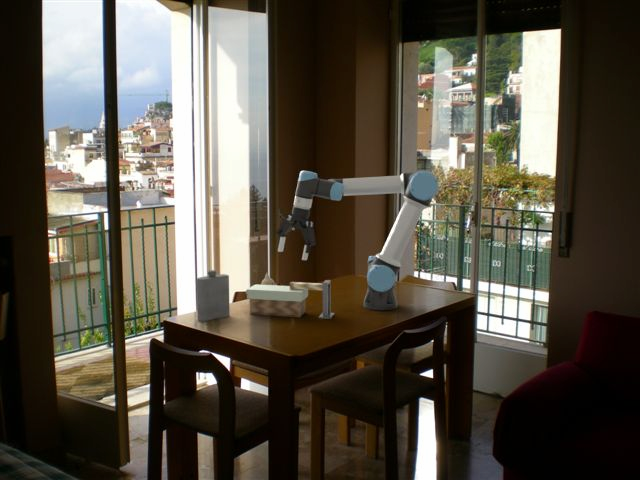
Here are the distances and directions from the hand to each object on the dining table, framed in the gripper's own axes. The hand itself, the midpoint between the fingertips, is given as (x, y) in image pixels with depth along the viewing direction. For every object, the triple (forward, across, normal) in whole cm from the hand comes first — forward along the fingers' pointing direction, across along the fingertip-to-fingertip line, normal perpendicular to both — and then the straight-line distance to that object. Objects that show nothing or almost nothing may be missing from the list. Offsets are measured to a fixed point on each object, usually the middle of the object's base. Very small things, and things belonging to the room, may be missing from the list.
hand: (292, 255), depth 295 cm
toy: (+28, -16, +5) cm, 32 cm away
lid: (+18, 0, -4) cm, 19 cm away
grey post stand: (+21, +20, +5) cm, 30 cm away
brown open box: (+25, +1, -3) cm, 26 cm away
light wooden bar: (+12, +11, +1) cm, 16 cm away
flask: (+31, -15, -25) cm, 42 cm away
